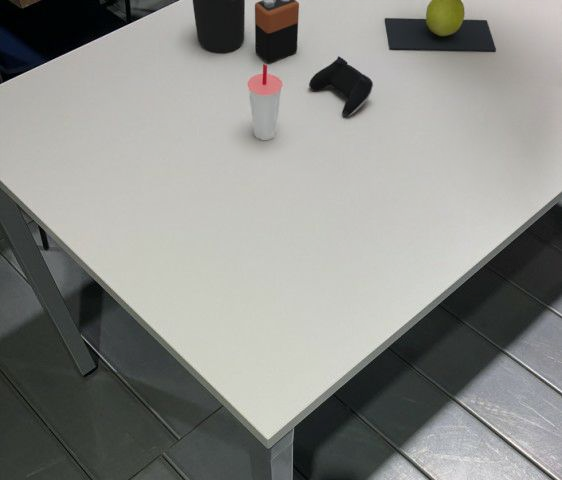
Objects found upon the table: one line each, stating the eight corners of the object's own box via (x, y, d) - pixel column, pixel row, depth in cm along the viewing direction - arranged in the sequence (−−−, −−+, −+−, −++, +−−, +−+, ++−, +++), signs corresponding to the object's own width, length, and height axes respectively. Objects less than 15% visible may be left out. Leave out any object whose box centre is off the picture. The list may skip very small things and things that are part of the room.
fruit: (427, 45, 116) (443, -23, 106) (417, 25, 120) (432, -43, 109) (462, 43, 117) (481, -26, 107) (452, 22, 120) (469, -46, 110)
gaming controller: (356, 125, 108) (382, 89, 105) (345, 116, 104) (372, 78, 101) (316, 93, 112) (340, 58, 109) (304, 83, 108) (329, 46, 105)
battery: (254, 53, 114) (253, -4, 106) (284, 41, 116) (285, -15, 108) (267, 65, 112) (267, 8, 104) (298, 53, 115) (300, -3, 106)
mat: (486, 22, 121) (486, 19, 121) (495, 51, 116) (496, 49, 116) (384, 19, 121) (384, 17, 121) (389, 49, 116) (389, 47, 115)
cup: (266, 118, 105) (266, 50, 94) (287, 134, 103) (290, 66, 92) (242, 132, 103) (239, 64, 92) (263, 148, 101) (263, 80, 90)
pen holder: (248, 53, 114) (247, -3, 106) (197, 56, 113) (192, 0, 105) (243, 24, 119) (241, -32, 110) (194, 27, 118) (188, -29, 110)
